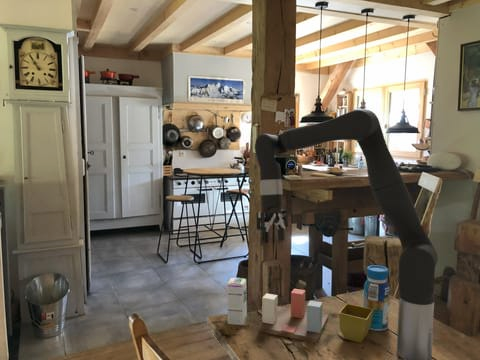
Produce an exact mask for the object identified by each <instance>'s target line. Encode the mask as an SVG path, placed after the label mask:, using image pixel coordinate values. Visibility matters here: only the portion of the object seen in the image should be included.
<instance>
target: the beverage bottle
mask: <svg viewBox="0 0 480 360" xmlns="http://www.w3.org/2000/svg"><path fill="white" fill-rule="evenodd" d="M366 278H367V279H366V280H365V282H364V283H363V289H364V290H363V292H362V307H366V308H370V309H373V316H372V321H371V326H370V328H369V331H375V332H376V331H377V332H380V331H381V332H382V331H383V332H384V331H386V330H387V329H388V328H389V313H390V299H391V297H390V288H391V287H390V285H389V283H388V282H387V281H388V278H389V269H388V267H386V266H382V265H379V264H378V265H375V264H374V265H368V266H367V267H366Z"/></svg>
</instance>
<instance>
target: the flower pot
mask: <svg viewBox="0 0 480 360" xmlns="http://www.w3.org/2000/svg"><path fill="white" fill-rule="evenodd" d="M372 316H373V309H370V308H366V307H363V305H362V306H361V305H356V304H352V303H345V304H344V305H343V307H342V308H341V309H340V311H339V312H338V318H339V319H338V320H339V321H338V322H339V327H340V332H341V334H342V336H343V338H344V339H345V340H350V341H353V342H356V343H360V344H361V343H362V342H363V341H364V339H365V337H366V335H367V334H368V332H369V331H370V329H369V328H370V326H371V321H372Z"/></svg>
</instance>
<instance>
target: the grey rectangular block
mask: <svg viewBox="0 0 480 360" xmlns="http://www.w3.org/2000/svg"><path fill="white" fill-rule="evenodd" d="M306 311H307V331H310V332H316V333H319V332H320V330H321V328H322V314H323V302H322V301H315V300H309V301H308V302H307V305H306Z"/></svg>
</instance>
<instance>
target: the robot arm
mask: <svg viewBox="0 0 480 360" xmlns="http://www.w3.org/2000/svg"><path fill="white" fill-rule="evenodd" d="M333 141H356V142H357V144H358V146H359V147H360V149H361V152H362V154H363V157H364V159H365V164H366V170H367V171H366V172H367V177H368V182H369V186H370V189H371V192H372V194H373V196H374V199H375V201H376V203H377V205H378V207H379V208H380V209H379V210H381V212H382V213H383V215H384V216H385V218H386V219H387V221H389V223H390V224H391V225H392V227H393V229H394V230H395V232H396V234H397V237H398V240H399V243H400V245H401V248H402V252H401V253H400V256H399V259H398V260H399V261H398V290H399V293H398V294H399V298H398V315H397V316H398V319H397V320H398V321H397V336H396V354H397V356H398V357H399V358H401V360H432V355H433V338H434V327H433V325H434V314H435V313H434V311H435V310H434V309H435V297H436V295H435V294H436V293H435V275H436V273H435V272H436V266H437V265H438V259H439V257H438V253H437V251H436V249H435V246H434V245H433V244H432V242H431V240H430V238H429V237H428V235H427V233H426V231H425V229H424V227H423V226H422V223H421V221H420V218H419V216H418V213H417V211H416V210H417V209H416V208H415V205H414V203H413V200H412V197H411V194H410V192H409V190H408V188H407V185H406V183H405V180H404V178H403V175H402V174H401V172H400V169H399V167H398V166H397V164H396V161H395V159H394V158H393V155H392V154H391V152H390V150H389V147H388V145H387V142H386V139H385V136H384V133H383V129H382V127H381V122H380V119H379V118H378V116H377V115H376V113H374V112H373V111H372V110H369V109H365V108H355V109H352V110H350V111H348V112H346V113H343V114H341V115H339V116H337V117H336V116H335V117H334V118H332V119H331V118H330V119H328V120H326V121H322V122H318V123H313V124H307V125H302V126H297V127H294V128H290V129H286V130H285V131H283V132H282V133H278V134H269V133H261V134H259V135H258V136H257V138H256V139H255V144H254V152H255V155H256V156H255V157H256V159H257V164H258V166H259V175H260V176H259V178H260V181H259V182H260V183H259V193H260V194H259V196H260V208H261V209H263V211H257V212H256V230H257V231H260V232H261V242H262V244H269V243H270V237H269V233H270V232H269V229H270V227H272V225H275V226H276V227H277V241H285V229H286V228H287V227H289V219H288V217H289V216H288V209H281V208H282V207H284V198H283V197H284V195H283V194H284V193H283V183H282V171H281V165H280V163H279V162H278V161H276V157H275V156H279V155H282V154H285V153H289V152H292V151H297V150H301V149H302V150H303V149H307V148H311V147H314V146H317V145H321V144H324V143H328V142H333Z"/></svg>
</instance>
